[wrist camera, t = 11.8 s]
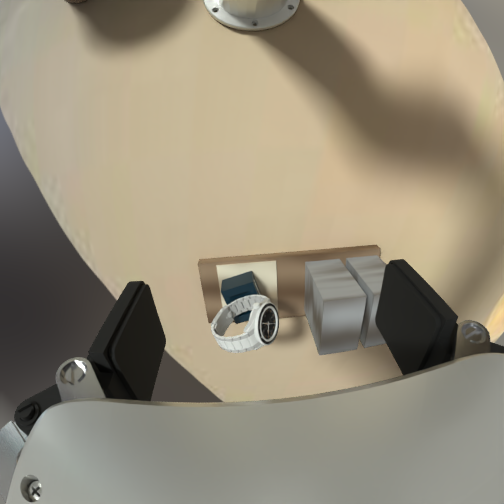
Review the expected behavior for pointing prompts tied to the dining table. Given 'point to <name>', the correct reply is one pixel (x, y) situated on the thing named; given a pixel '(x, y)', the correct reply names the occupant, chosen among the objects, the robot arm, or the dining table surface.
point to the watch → (245, 315)
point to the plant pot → (75, 1)
